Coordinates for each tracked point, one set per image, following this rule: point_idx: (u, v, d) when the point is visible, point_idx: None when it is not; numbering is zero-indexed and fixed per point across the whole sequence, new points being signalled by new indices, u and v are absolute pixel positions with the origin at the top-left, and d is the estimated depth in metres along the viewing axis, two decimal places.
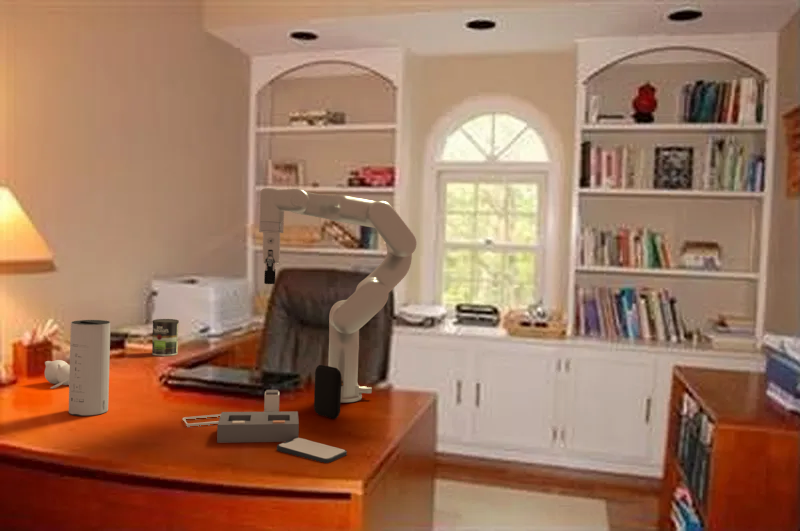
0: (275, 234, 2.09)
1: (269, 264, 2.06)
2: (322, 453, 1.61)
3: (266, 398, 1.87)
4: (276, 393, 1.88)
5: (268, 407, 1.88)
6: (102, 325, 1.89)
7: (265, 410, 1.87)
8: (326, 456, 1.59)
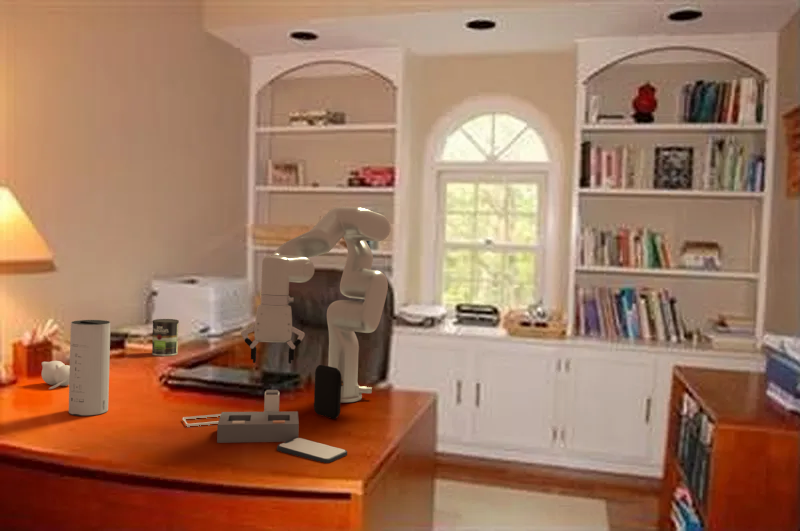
0: None
1: None
2: (322, 453, 1.61)
3: (266, 398, 1.87)
4: (276, 393, 1.88)
5: (268, 407, 1.88)
6: (102, 325, 1.89)
7: (265, 410, 1.87)
8: (326, 456, 1.59)
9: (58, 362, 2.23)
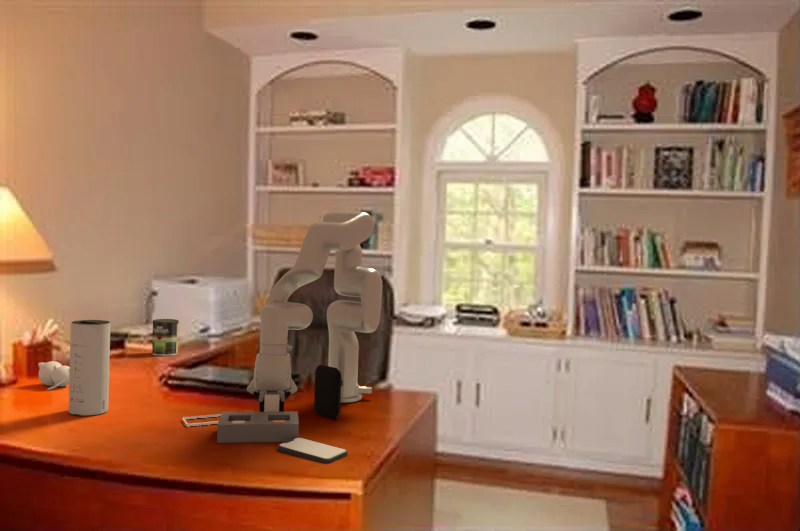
0: None
1: None
2: (323, 453, 1.61)
3: (266, 398, 1.87)
4: (276, 393, 1.88)
5: (268, 407, 1.88)
6: (102, 325, 1.89)
7: (265, 410, 1.87)
8: (326, 456, 1.59)
9: (55, 363, 2.22)
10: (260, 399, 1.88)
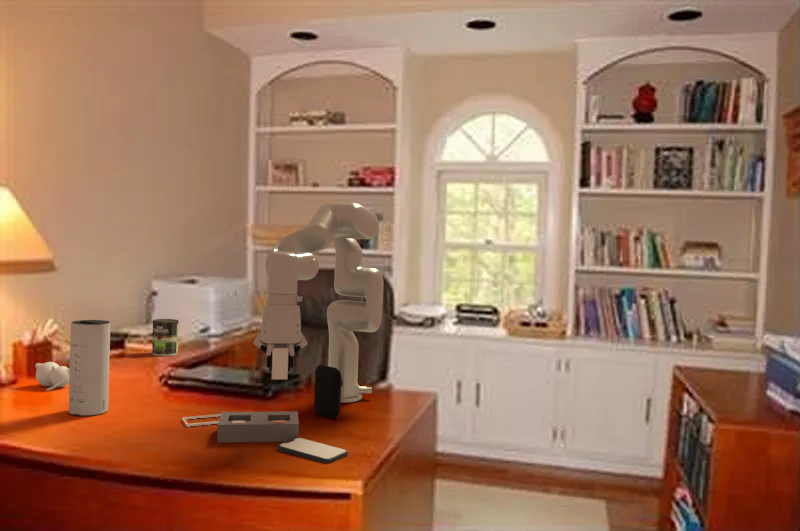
0: None
1: None
2: (323, 453, 1.61)
3: (274, 352, 1.75)
4: (285, 347, 1.75)
5: (276, 362, 1.75)
6: (102, 325, 1.89)
7: (273, 365, 1.75)
8: (326, 456, 1.59)
9: (53, 363, 2.21)
10: (268, 353, 1.75)
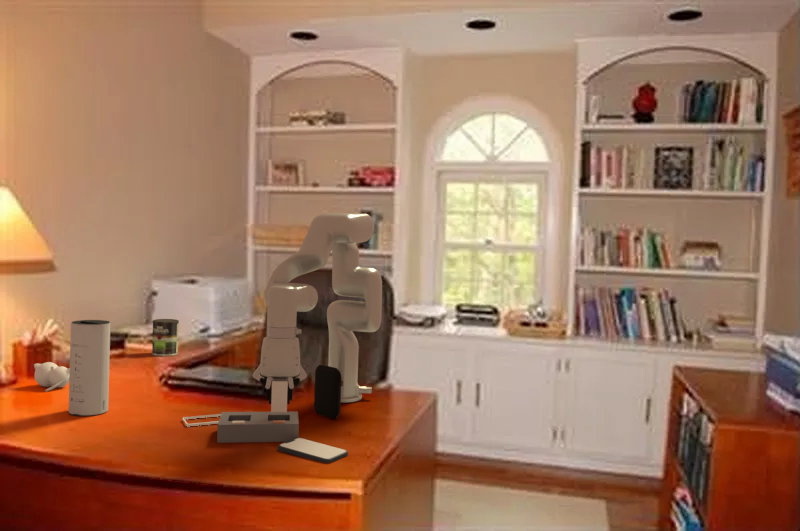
0: None
1: None
2: (323, 453, 1.61)
3: (273, 385, 1.75)
4: (284, 379, 1.76)
5: (275, 395, 1.75)
6: (102, 325, 1.89)
7: (272, 398, 1.75)
8: (327, 456, 1.59)
9: (52, 363, 2.20)
10: (267, 386, 1.76)
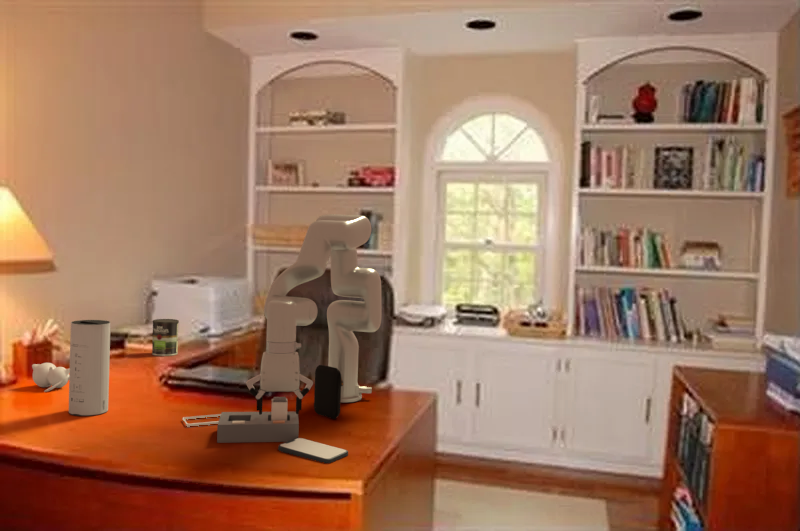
0: None
1: (309, 389, 1.79)
2: (323, 453, 1.61)
3: (273, 406, 1.75)
4: (284, 400, 1.76)
5: (275, 416, 1.76)
6: (102, 325, 1.89)
7: (272, 419, 1.75)
8: (327, 456, 1.59)
9: (50, 364, 2.19)
10: (257, 396, 1.75)
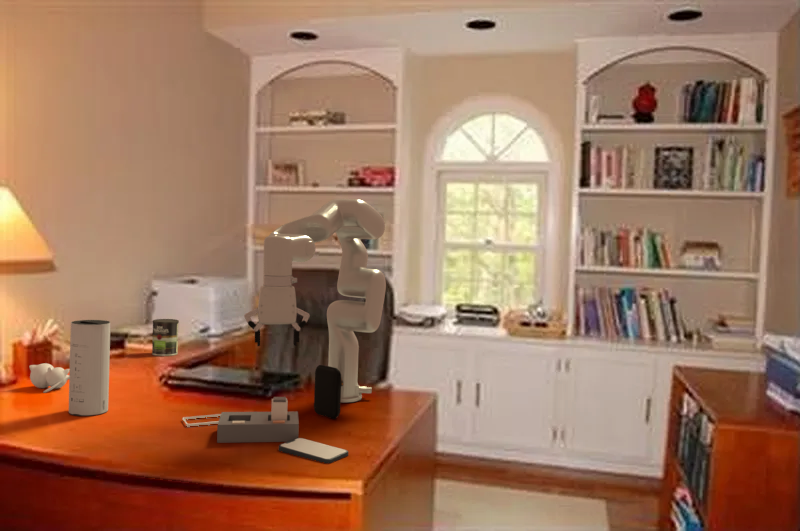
0: None
1: None
2: (323, 453, 1.61)
3: (273, 406, 1.75)
4: (284, 400, 1.76)
5: (275, 416, 1.76)
6: (102, 325, 1.89)
7: (272, 419, 1.75)
8: (327, 457, 1.59)
9: (48, 365, 2.18)
10: (255, 329, 1.81)
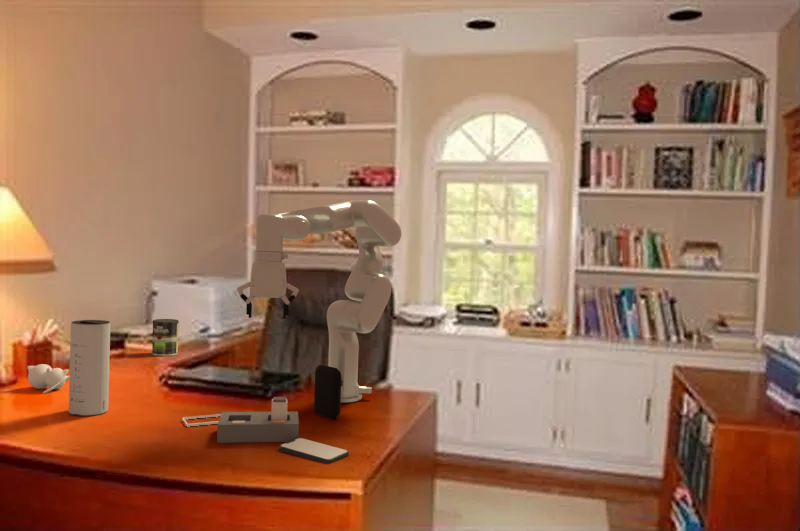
0: None
1: (295, 296, 1.95)
2: (324, 453, 1.61)
3: (273, 406, 1.75)
4: (284, 400, 1.76)
5: (275, 416, 1.76)
6: (102, 325, 1.89)
7: (272, 419, 1.75)
8: (327, 457, 1.59)
9: (46, 365, 2.17)
10: (247, 301, 1.92)
